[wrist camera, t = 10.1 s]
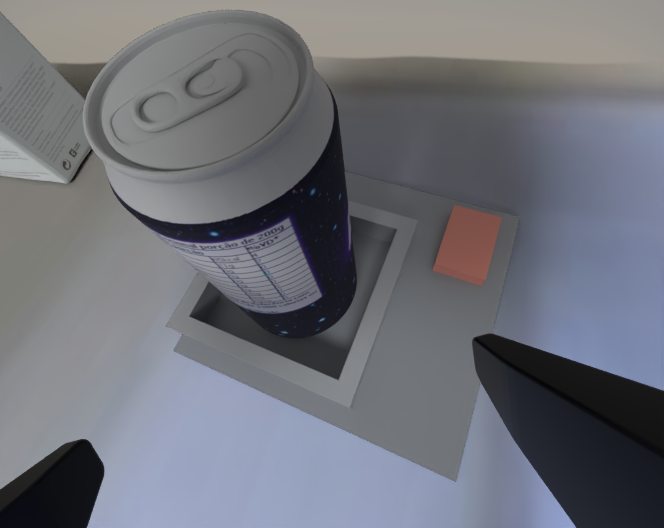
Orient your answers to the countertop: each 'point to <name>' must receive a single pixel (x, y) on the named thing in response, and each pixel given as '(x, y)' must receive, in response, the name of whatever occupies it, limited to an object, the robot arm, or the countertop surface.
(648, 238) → the countertop surface
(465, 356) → the socket plate
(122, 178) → the beverage can
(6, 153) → the skincare box
